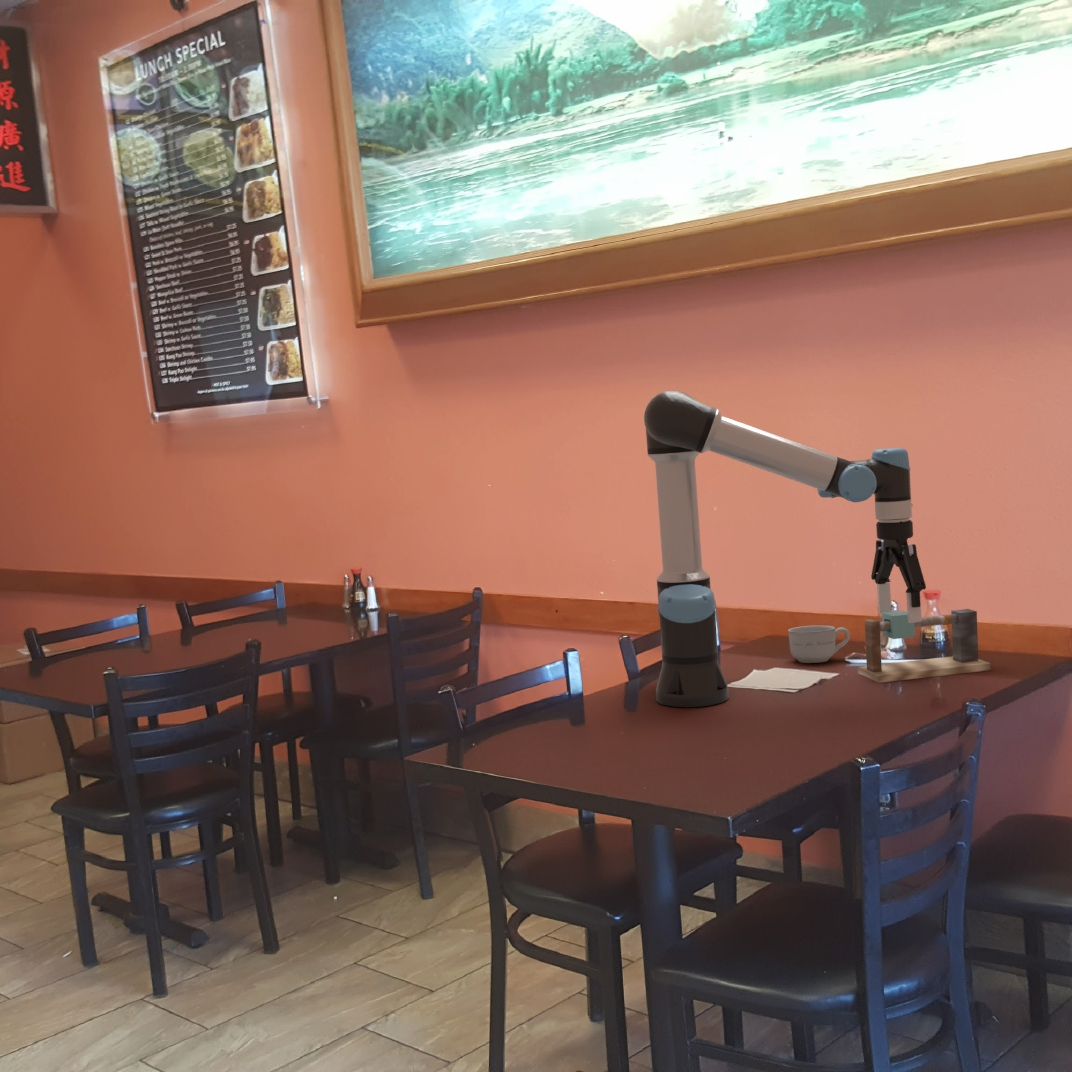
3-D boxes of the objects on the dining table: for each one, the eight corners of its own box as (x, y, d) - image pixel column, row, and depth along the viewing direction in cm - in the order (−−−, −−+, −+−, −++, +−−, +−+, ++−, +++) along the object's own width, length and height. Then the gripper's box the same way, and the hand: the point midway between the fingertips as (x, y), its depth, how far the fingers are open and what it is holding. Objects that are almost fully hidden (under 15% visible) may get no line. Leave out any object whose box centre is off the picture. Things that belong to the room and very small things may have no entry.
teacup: (787, 666, 277) (785, 632, 276) (791, 656, 287) (790, 623, 286) (849, 666, 273) (848, 631, 272) (851, 656, 283) (850, 622, 282)
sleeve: (893, 639, 257) (892, 616, 257) (882, 635, 262) (881, 612, 261) (915, 636, 258) (914, 613, 257) (903, 632, 263) (903, 610, 262)
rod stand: (878, 682, 255) (876, 624, 253) (858, 673, 264) (855, 617, 263) (990, 670, 259) (989, 613, 258) (966, 661, 269) (964, 606, 268)
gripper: (939, 522, 246) (944, 624, 248) (883, 514, 270) (889, 607, 272) (905, 526, 245) (911, 628, 247) (852, 517, 269) (858, 611, 271)
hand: (899, 617), depth 259 cm, fingers open, 13 cm apart
